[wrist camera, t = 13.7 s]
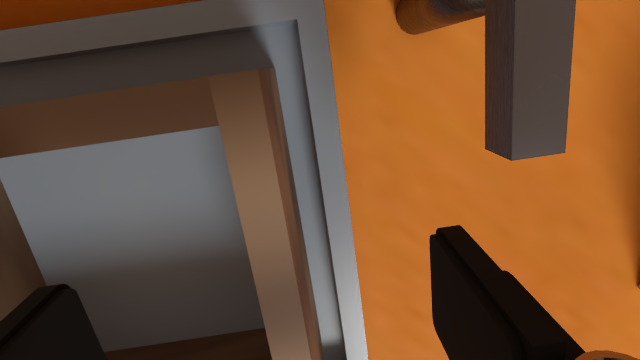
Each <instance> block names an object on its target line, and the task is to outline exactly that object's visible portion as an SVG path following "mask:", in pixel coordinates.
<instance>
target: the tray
mask: <svg viewBox="0 0 640 360" xmlns="http://www.w3.org/2000/svg"><path fill="white" fill-rule="evenodd" d="M267 68H275V71H276V77H277V83H278V88H279V94H280V100H281V106H282V112H283V118H284V123H285V129H286V135H287V141H288V147H289V153H290V159H291V164H292V170H293V176H294V182H295V188H296V194H297V199H298V205H299V211H300V217H301V223H302V229H303V234H304V240H305V246H306V252H307V258H308V264H309V270H310V275H311V281H312V287H313V293H314V299H315V305H316V310H317V316H318V322H319V328H320V334H321V340H322V354H323V360H368V353H367V345H366V337H365V329H364V321H363V313H362V305H361V297H360V289H359V281H358V273H357V265H356V257H355V249H354V241H353V233H352V225H351V217H350V209H349V201H348V193H347V185H346V177H345V169H344V161H343V153H342V145H341V137H340V129H339V121H338V113H337V105H336V97H335V89H334V81H333V73H332V65H331V57H330V49H329V41H328V32H327V24H326V16H325V8H324V0H203V1H196V2H189V3H183V4H176V5H169V6H162V7H155V8H149V9H142V10H135V11H128V12H121V13H115V14H108V15H101V16H94V17H87V18H81V19H74V20H67V21H60V22H54V23H47V24H40V25H33V26H26V27H20V28H13V29H6V30H0V107H4V106H10V105H17V104H24V103H31V102H38V101H44V100H51V99H58V98H65V97H71V96H78V95H85V94H92V93H98V92H105V91H112V90H119V89H125V88H132V87H139V86H146V85H152V84H159V83H166V82H173V81H179V80H186V79H193V78H200V77H207V76H213V75H220V74H227V73H234V72H240V71H247V70H254V69H267ZM0 179H1V182H2V184H3V186H4V188H5V191H6V193H7V195H8V198H9V200H10V202H11V205H12V207H13V209H14V211H15V214H16V216H17V218H18V221H19V223H20V225H21V228H22V230H23V232H24V234H25V237H26V239H27V241H28V244H29V246H30V248H31V251H32V253H33V255H34V257H35V260H36V262H37V264H38V267H39V269H40V271H41V274H42V276H43V278H44V280H45V283H46V285H47V286H51V285H58V284H67V285H68V286H69V287H70V288H72V289H75V290H76V292H77V293H78V295H79V298H80V300H81V302H82V304H83V307H84V309H85V311H86V313H87V316H88V318H89V320H90V322H91V325H92V327H93V329H94V331H95V334H96V336H97V338H98V340H99V343H100V345H101V347H102V349H103V352H108V351H115V350H121V349H128V348H135V347H141V346H148V345H155V344H161V343H168V342H175V341H181V340H188V339H194V338H201V337H208V336H214V335H221V334H228V333H234V332H241V331H248V330H254V329H261V328H265V325H264V321H263V317H262V312H261V308H260V304H259V299H258V295H257V290H256V286H255V282H254V277H253V273H252V268H251V264H250V260H249V255H248V251H247V246H246V242H245V238H244V233H243V229H242V224H241V220H240V216H239V211H238V207H237V202H236V198H235V194H234V189H233V185H232V180H231V176H230V172H229V167H228V163H227V159H226V154H225V150H224V145H223V141H222V137H221V132H220V128H219V126H214V127H207V128H200V129H194V130H187V131H180V132H173V133H167V134H160V135H153V136H147V137H140V138H133V139H126V140H120V141H113V142H106V143H99V144H93V145H86V146H79V147H72V148H66V149H59V150H52V151H46V152H39V153H32V154H25V155H19V156H12V157H5V158H0Z"/></svg>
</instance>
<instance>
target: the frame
mask: <svg viewBox="0 0 640 360" xmlns="http://www.w3.org/2000/svg"><path fill="white" fill-rule="evenodd" d="M214 126H219V128H220V132H221V137H222V141H223V145H224V150H225V154H226V159H227V163H228V167H229V172H230V176H231V180H232V185H233V189H234V194H235V198H236V202H237V207H238V211H239V216H240V220H241V224H242V229H243V233H244V238H245V242H246V246H247V251H248V255H249V260H250V264H251V268H252V273H253V277H254V282H255V286H256V290H257V295H258V299H259V304H260V308H261V312H262V317H263V321H264V325H265V328H261V329H254V330H248V331H241V332H234V333H228V334H221V335H214V336H208V337H201V338H194V339H188V340H181V341H175V342H168V343H161V344H155V345H148V346H141V347H135V348H128V349H121V350H115V351H108V352H104V354H105V356H106V358H107V360H323V354H322V340H321V334H320V328H319V322H318V316H317V310H316V305H315V299H314V293H313V287H312V281H311V275H310V270H309V264H308V258H307V252H306V246H305V240H304V234H303V229H302V223H301V217H300V211H299V205H298V199H297V194H296V188H295V182H294V176H293V170H292V164H291V159H290V153H289V147H288V141H287V135H286V129H285V123H284V118H283V112H282V106H281V100H280V94H279V88H278V83H277V77H276V71H275V68H267V69H254V70H247V71H240V72H234V73H227V74H220V75H213V76H207V77H200V78H193V79H186V80H179V81H173V82H166V83H159V84H152V85H146V86H139V87H132V88H125V89H119V90H112V91H105V92H98V93H92V94H85V95H78V96H71V97H65V98H58V99H51V100H44V101H38V102H31V103H24V104H17V105H10V106H4V107H0V158H5V157H12V156H19V155H25V154H32V153H39V152H46V151H52V150H59V149H66V148H72V147H79V146H86V145H93V144H99V143H106V142H113V141H120V140H126V139H133V138H140V137H147V136H153V135H160V134H167V133H173V132H180V131H187V130H194V129H200V128H207V127H214ZM44 286H47V285H46V283H45V280H44V278H43V276H42V274H41V271H40V269H39V267H38V264H37V262H36V260H35V257H34V255H33V253H32V251H31V248H30V246H29V244H28V241H27V239H26V237H25V234H24V232H23V230H22V228H21V225H20V223H19V221H18V218H17V216H16V214H15V211H14V209H13V207H12V205H11V202H10V200H9V198H8V195H7V193H6V191H5V188H4V186H3V184H2V182H1V179H0V321H1V320H2V319H3V318H5V317H6V316H7V315H8V314H9V313H10V312H11V311H12V310H13V309H15V308H16V307H17V306H18V305H19V304H20V303H21V302H22V301H24V300H25V299H26V298H27V297H28V296H29V295H30V294H31V293H32V292H34V291H35V290H36V289H38V288H39V287H44Z"/></svg>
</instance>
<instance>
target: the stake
mask: <svg viewBox="0 0 640 360" xmlns="http://www.w3.org/2000/svg"><path fill="white" fill-rule="evenodd" d="M575 6H576V0H401V1H400V2H399V4H398V7H397V10H396V18H397V22H398V25H399V26H400V28H401V29H402V30H403V31H405V32H406V33H408V34H414V35H415V34H420V33H424V32H428V31H431V30H435V29H438V28H442V27H445V26H449V25H453V24H456V23H460V22H463V21H467V20H470V19H474V18H478V17H481V16H485V149H487V150H489V151H491V152H493V153H495V154H498V155H500V156H502V157H504V158H507V159H509V160H511V161H513V160H520V159H527V158H533V157H540V156H547V155H553V154H560V153H565V148H566V133H567V119H568V105H569V91H570V77H571V63H572V48H573V34H574V20H575Z"/></svg>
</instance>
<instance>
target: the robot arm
mask: <svg viewBox="0 0 640 360" xmlns="http://www.w3.org/2000/svg"><path fill="white" fill-rule="evenodd" d="M430 263H431V289H432V315H433V323H434V327H435V330H436V333H437V335H438V337H439V339H440V341H441V343H442V345H443V347H444V349H445V351H446V353H447V355H448V358H449V360H639V359H637V358H634V357H632V356H629V355H626V354H622V353H617V352H613V351H598V350H595V351H591V352H585V351H584V350H583V349H582V348H581V347H580V346H579V345H578V344H577V343H576V342H575V341H574V340H573V339H572V338H571V336H570V335H569V334H568V333H567V332H566V331H565V330H564V329H563V328H562V327H561V326H560V325H559V324H558V323H557V322H556V321H555V320H554V319H553V317H552V316H551V315H550V314H549V313H548V312H547V311H546V310H545V309H544V308H543V307H542V306H541V305H540V304H539V303H538V302H537V301H536V299H535V298H534V297H533V296H532V295H531V294H530V293H529V292H528V291H527V290H526V289H525V288H524V287H523V286H522V285H521V284H520V283H519V282H518V280H517V279H516V278H515V277H514V276H513V275H512V274H510V273H509V272H507V271H502V270H501V269H500V268H499V267H498V266H497V265H496V264H495V262H494V261H493V260H492V259H491V258H490V257H489V256H488V255H487V254H486V253H485V252H484V250H483V249H482V248H481V247H480V246H479V245H478V244H477V243H476V242H475V241H474V240H473V238H472V237H471V236H470V235H469V234H468V233H467V232H466V231H465V230H464V229H463V228H462V227H461V226H460V225H457V226H450V227H443V228H438V229H437V230H436V234H434V235H431V236H430ZM0 360H107V358H106V356H105V354H104V352H103V349H102V347H101V345H100V343H99V340H98V338H97V336H96V334H95V331H94V329H93V327H92V325H91V322H90V320H89V318H88V316H87V313H86V311H85V309H84V307H83V304H82V302H81V300H80V298H79V295H78V293H77V292H76V290H75V289H72V288H70V287H69V286H68V285H67V284H58V285H51V286H44V287H39V288H38V289H36V290H35V291H34V292H32V293H31V294H30V295H29V296H28V297H27V298H26V299H25V300H24V301H22V302H21V303H20V304H19V305H18V306H17V307H16V308H15V309H13V310H12V311H11V312H10V313H9V314H8V315H7V316H6V317H5V318H3V319H2V320H1V321H0Z"/></svg>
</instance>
